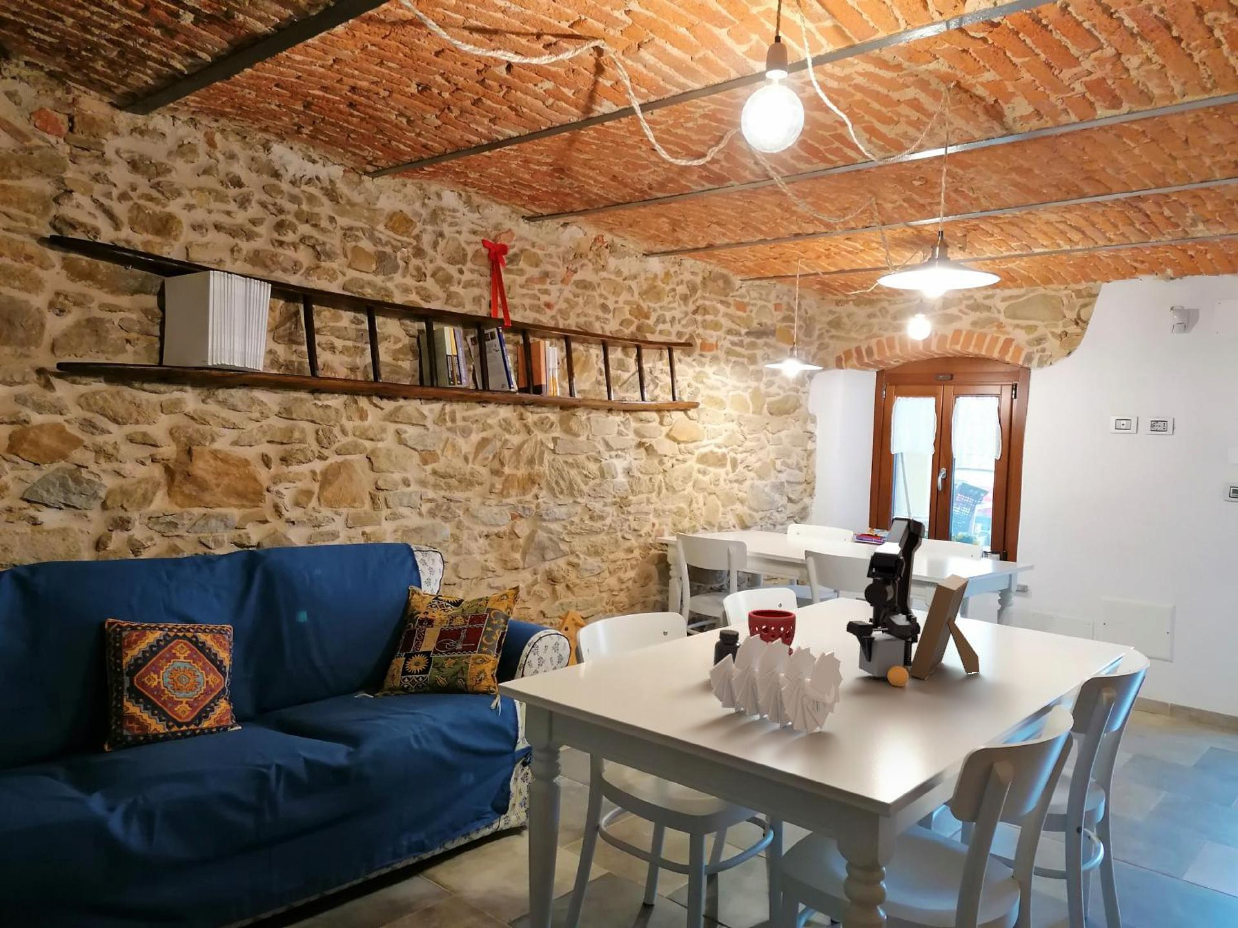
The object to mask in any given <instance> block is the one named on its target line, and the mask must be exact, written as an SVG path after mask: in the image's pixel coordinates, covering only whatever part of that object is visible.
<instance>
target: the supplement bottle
mask: <svg viewBox="0 0 1238 928" xmlns="http://www.w3.org/2000/svg"><path fill="white" fill-rule="evenodd" d="M718 634H719V636H718V639H719V640H718V641H716V642H715V644H714V651H713V666H712V668H713V667H714V666H715V665H716V664H718V663H719V662H720V661H721V660H723V659H724V658H725V657H726V656H728V655H729V654H732V658H733V663H735V659H736V655H737V650H738V648H739V647H740V646H741V644H742V643H740V642H739V641H740V637H739V635H740V632H739V631H738V630H734V629H721V630H720V631H719V633H718Z"/></svg>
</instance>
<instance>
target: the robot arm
mask: <svg viewBox="0 0 1238 928" xmlns="http://www.w3.org/2000/svg"><path fill="white" fill-rule="evenodd" d="M925 536H926V526H925V525H924V523H923V522H922V521H918V520H916V519H914V518H913V517H910V516H902V515H901V516H900V515H896V516H893V517H892V519H891V521H890V529H889V531H888V534H887V535H886V539H885V541H884V543H883V544H881V545H879V546H877V547H876V549H874V552H873V553H872V554H871V555H870V560H869V564H868V569H867V574H866V578H868V579H872V583H869V584H868V585H867V586H865V589H864V591H863V592H864V593H863V595H864V599H865V601H866V602H867V603H868V604H869V606H870V607H871V608H872V617H869V619H868V620H869V621H868V622H867V621H866V622H865V621H863V620H849V621H848V622H847V624H846V629H845V630H846V631H845V632H847V633H849V634H851V635H853V636H855V637H856V639H857V642H858V643H859V646H860V645H861V648H862V650H863V653H864V655H865V658H866V660H867V662H871V654H872V642H873V640H874V639H875V637H873V636H872V634H874V632H875V633H876V632H881V634H884V633H886V634H889V635H891V636H894V637H896V638H899V639H901V640H904V641H905V643H904V661H903V666H907V665H909V666H911V664H912V661H913V660H912V655H913V654H912V653H913V644H918V643H919V635H921V628H922V627H921V624H920V623H919V622H918V617H917V616H916V615H915V614H914V613H913V611H912V608H911V607H910V599H911V594H912V593H911V591H912V582H913V572H914V562H915V553H916V552H917V551H918V550H919V548H920V547H921V546H922V543H923V539H924V538H925Z"/></svg>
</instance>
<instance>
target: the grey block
mask: <svg viewBox="0 0 1238 928" xmlns="http://www.w3.org/2000/svg"><path fill="white" fill-rule="evenodd" d="M872 636H873V637H875V639H874V640H873V642H872V654H871V662H867V660H866V658H865V655H864V653H863V650H862V648H861V645H860V644H859V654H858V655H859V657H858V658H859V659H858V669H860V670H861V671H864V672H866V673H868V674H870V675H872V676H873V677H876V678H879V677H888V671H889V670H890V668H892V667H894V666H901V667H903V668H904V665H903V661H904V643H905V641H904V640H901V639H899V638H896V637H894V636H891V635H889V634H886V633H884V634H882V633H872Z"/></svg>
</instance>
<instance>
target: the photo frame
mask: <svg viewBox="0 0 1238 928" xmlns="http://www.w3.org/2000/svg"><path fill="white" fill-rule="evenodd" d="M968 584H969V578H965V577H962V576H960V575H957V574H954V573H952V574H950V575H949V576H947V577H946V578H945V579H943V580H941V581H940V582H938V583H937V585H936V589H935V591H934V594H933V597H932V600H931V602H930V606H929V609H928V612H927V614H926V619H925V620H924V624H923V628H922V631H921V632H920V637H919V639H918V643H917V646H916V648H915V653H914V655H913V659H912V660H911V661H912V664H911V665H910V667H909V671H908V675H909V674H910V675H912V676H914V677H916V678H918V679H921V680H923V679H926V678H927V679H928V678H929V677H930V676H931V675H932V674H933V673H934V671H936V670H937V668H938V667H939V666H940V665H941V664H942V662H943V660H944V656H945V653H946V651H947V646H948V644H949V640H950V638H951V636H952V640H953V642H954V644H955V647H956V650H957V653H958V656H959V658H960V659H959V660H960V661H961V663H962V667H963V669H964V671H965V674H966V673H967V674H968V673H972V672H979V673H980V662H979V659H980V658H979V655H978V654H977V653H976V651H975V650H974V648H973V647H972V645H971V644H970V642H969V640H967V638H966V636H965V635H964V633H962V631H961V630H960V628H959V627H958V625H957V624H956V619H957V617H958V614H959V611H960V608H961V605H962V601H963V599H964V596H965V593H966V590H967V586H968ZM940 663H941V664H940ZM939 664H940V665H939ZM938 665H939V666H938ZM937 666H938V667H937ZM936 667H937V668H936ZM931 673H932V674H931ZM930 674H931V675H930ZM929 675H930V676H929ZM928 676H929V677H928ZM927 679H926V680H927Z"/></svg>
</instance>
